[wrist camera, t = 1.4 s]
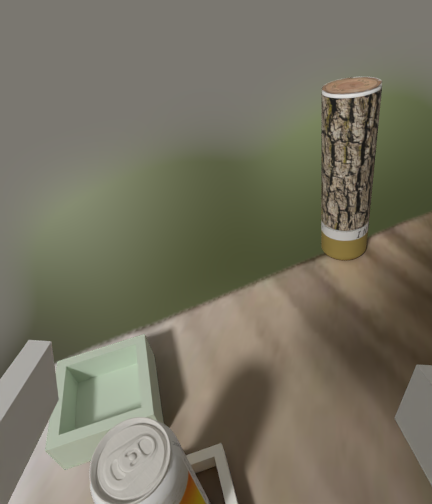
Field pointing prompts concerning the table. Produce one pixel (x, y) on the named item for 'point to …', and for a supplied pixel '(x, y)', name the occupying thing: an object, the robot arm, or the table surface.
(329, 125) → the paper tube
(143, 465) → the beer can
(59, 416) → the socket
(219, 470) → the collar
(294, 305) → the table surface
